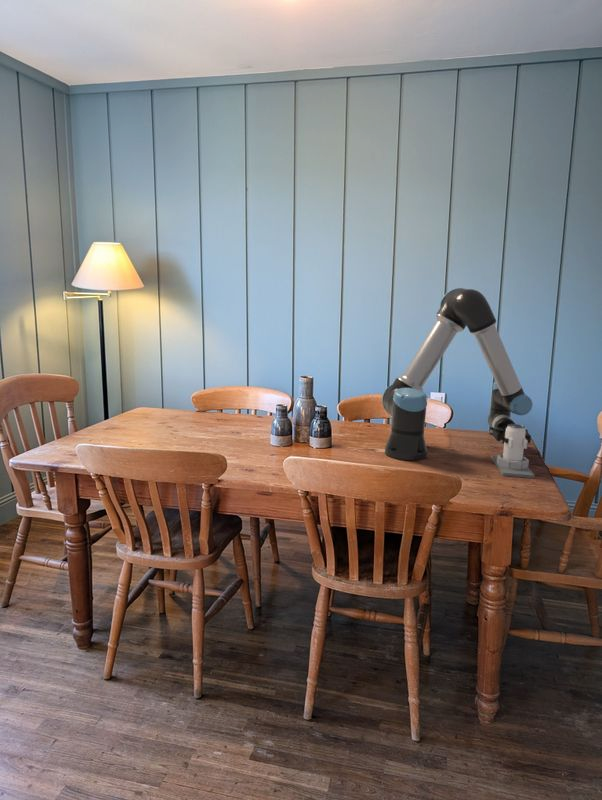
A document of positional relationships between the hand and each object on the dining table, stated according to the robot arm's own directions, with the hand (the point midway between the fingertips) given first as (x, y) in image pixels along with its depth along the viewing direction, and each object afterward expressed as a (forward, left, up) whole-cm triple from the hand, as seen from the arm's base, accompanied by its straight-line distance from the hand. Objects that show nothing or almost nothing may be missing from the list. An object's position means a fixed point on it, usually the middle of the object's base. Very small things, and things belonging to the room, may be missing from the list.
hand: (519, 444), depth 196 cm
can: (0, +5, -7) cm, 9 cm away
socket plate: (0, +5, -10) cm, 11 cm away
